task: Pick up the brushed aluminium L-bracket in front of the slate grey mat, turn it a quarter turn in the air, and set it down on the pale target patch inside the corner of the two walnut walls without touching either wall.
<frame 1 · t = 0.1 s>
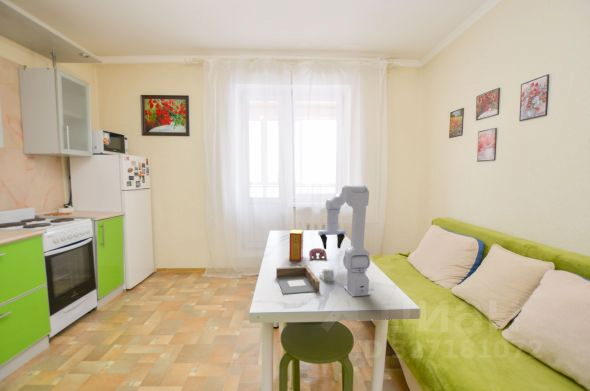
hand: (331, 248, 134), 10 cm above the table, tool pointing down, fingers open, 7 cm apart
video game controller: (317, 259, 148), on the table
aluminium bracket: (326, 278, 120), on the table
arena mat: (296, 283, 114), on the table
corner walls: (296, 283, 114), resting on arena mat
baking soda box: (296, 258, 149), on the table
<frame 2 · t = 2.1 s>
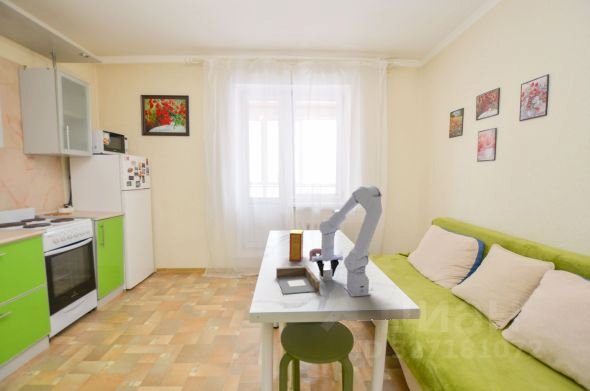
hand: (326, 275, 119), 2 cm above the table, tool pointing down, fingers closed on aluminium bracket, 4 cm apart
aluminium bracket: (325, 277, 121), on the table, touching gripper
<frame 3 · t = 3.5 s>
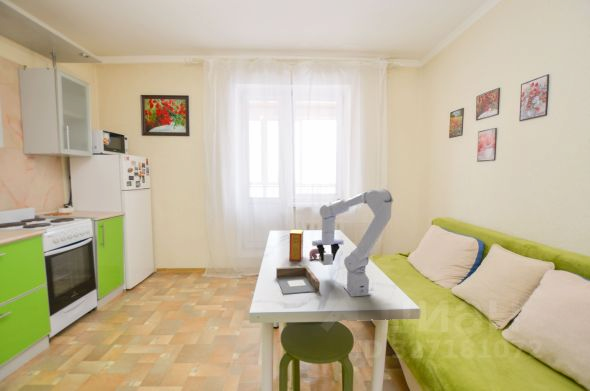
hand: (327, 260, 118), 9 cm above the table, tool pointing down, fingers closed on aluminium bracket, 4 cm apart
aluminium bracket: (325, 262, 120), point 7 cm above the table, touching gripper
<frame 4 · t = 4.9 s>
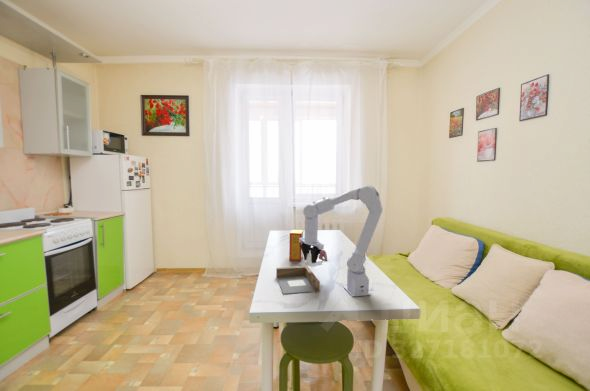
hand: (310, 261, 115), 10 cm above the table, tool pointing down, fingers closed on aluminium bracket, 4 cm apart
aluminium bracket: (313, 264, 117), point 8 cm above the table, touching gripper
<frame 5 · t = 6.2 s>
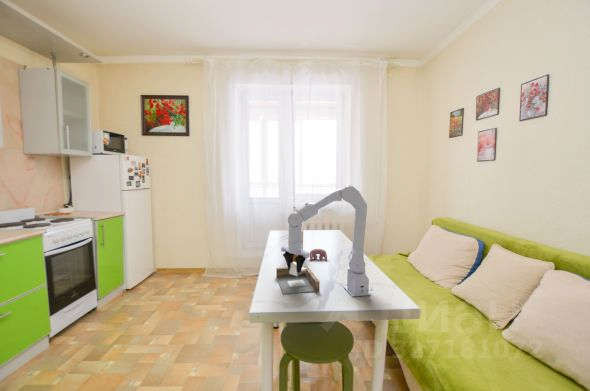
hand: (294, 270, 113), 6 cm above the table, tool pointing down, fingers closed on aluminium bracket, 4 cm apart
aluminium bracket: (297, 273, 115), point 4 cm above the table, touching gripper
when the fingers open (3 cm above the table, at t = 7.4 s): aluminium bracket stays where it is, resting on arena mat.
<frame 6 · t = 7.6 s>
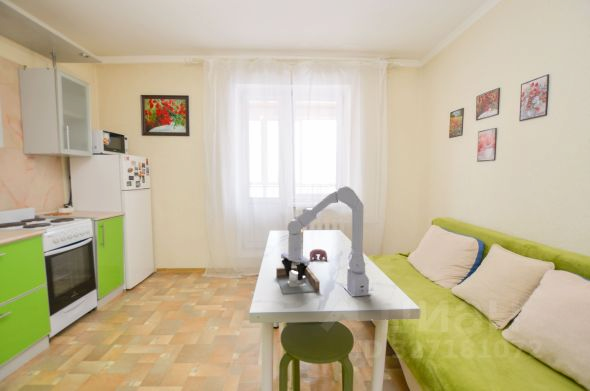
hand: (294, 277, 113), 3 cm above the table, tool pointing down, fingers open, 6 cm apart
aluminium bracket: (297, 281, 115), resting on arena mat
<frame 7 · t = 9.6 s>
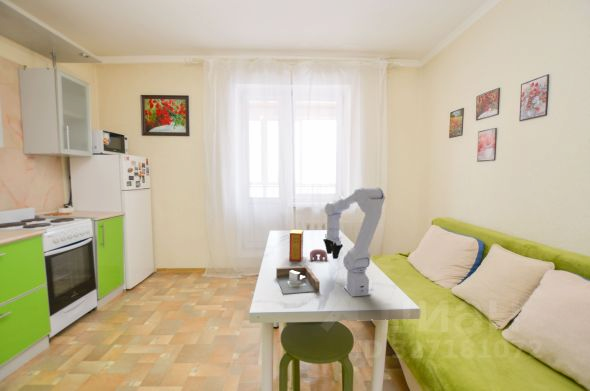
hand: (332, 256, 124), 9 cm above the table, tool pointing down, fingers open, 7 cm apart
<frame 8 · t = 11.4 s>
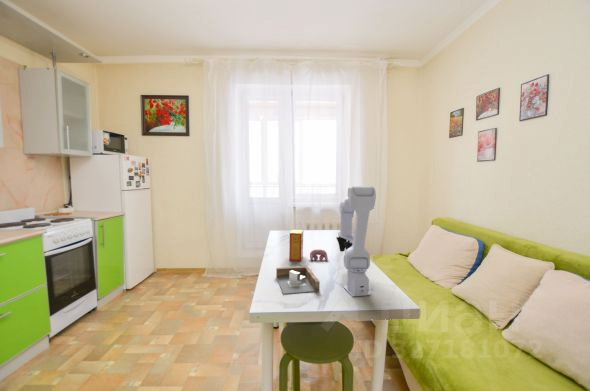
hand: (345, 253, 128), 9 cm above the table, tool pointing down, fingers open, 7 cm apart
at the end: aluminium bracket inside the target area on the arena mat (1.6 cm from its centre), point 0.5 cm above the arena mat's base; aluminium bracket touching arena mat; aluminium bracket tilted 0° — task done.
